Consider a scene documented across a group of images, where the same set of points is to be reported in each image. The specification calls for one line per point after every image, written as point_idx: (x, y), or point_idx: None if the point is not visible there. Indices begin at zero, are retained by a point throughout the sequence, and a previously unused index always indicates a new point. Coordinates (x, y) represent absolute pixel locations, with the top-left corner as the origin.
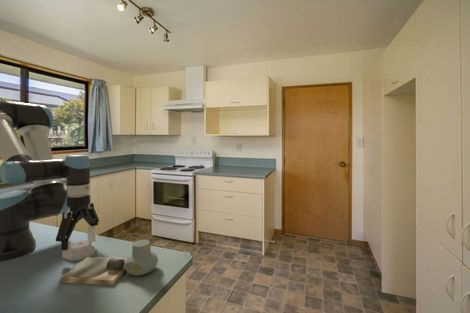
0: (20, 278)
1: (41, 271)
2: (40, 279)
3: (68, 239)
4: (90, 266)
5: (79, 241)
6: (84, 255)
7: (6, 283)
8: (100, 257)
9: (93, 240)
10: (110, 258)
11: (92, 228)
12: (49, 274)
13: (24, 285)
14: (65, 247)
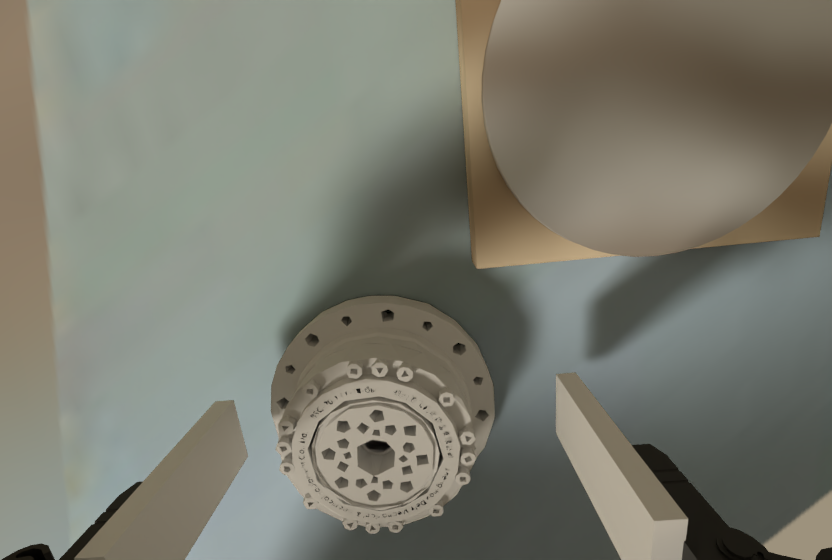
0: (722, 505)
1: None
2: (737, 389)
3: (723, 542)
4: (681, 84)
5: (326, 502)
6: (441, 326)
7: (772, 529)
8: (500, 114)
9: (229, 416)
10: (472, 11)
11: (137, 545)
12: (677, 384)
13: (800, 424)
14: (674, 471)
